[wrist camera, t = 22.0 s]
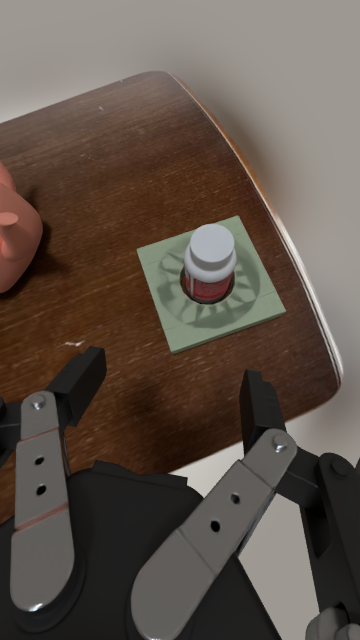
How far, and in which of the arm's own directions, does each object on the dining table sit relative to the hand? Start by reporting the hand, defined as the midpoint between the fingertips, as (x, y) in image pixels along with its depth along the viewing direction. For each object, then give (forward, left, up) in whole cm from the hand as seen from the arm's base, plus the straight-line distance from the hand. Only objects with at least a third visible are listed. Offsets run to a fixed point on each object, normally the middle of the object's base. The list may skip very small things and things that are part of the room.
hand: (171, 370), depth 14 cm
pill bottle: (+12, -8, -20) cm, 24 cm away
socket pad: (+12, -8, -20) cm, 24 cm away
